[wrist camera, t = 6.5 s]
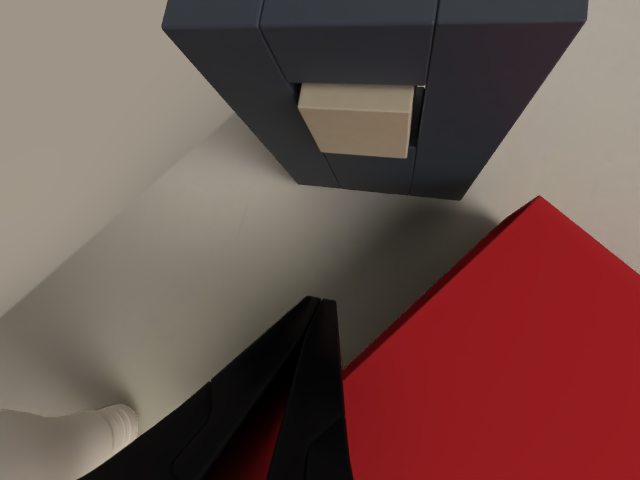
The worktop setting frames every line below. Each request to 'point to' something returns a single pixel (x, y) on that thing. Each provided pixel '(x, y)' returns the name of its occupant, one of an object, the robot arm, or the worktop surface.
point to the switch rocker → (359, 117)
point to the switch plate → (380, 76)
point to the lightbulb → (62, 442)
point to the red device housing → (507, 365)
